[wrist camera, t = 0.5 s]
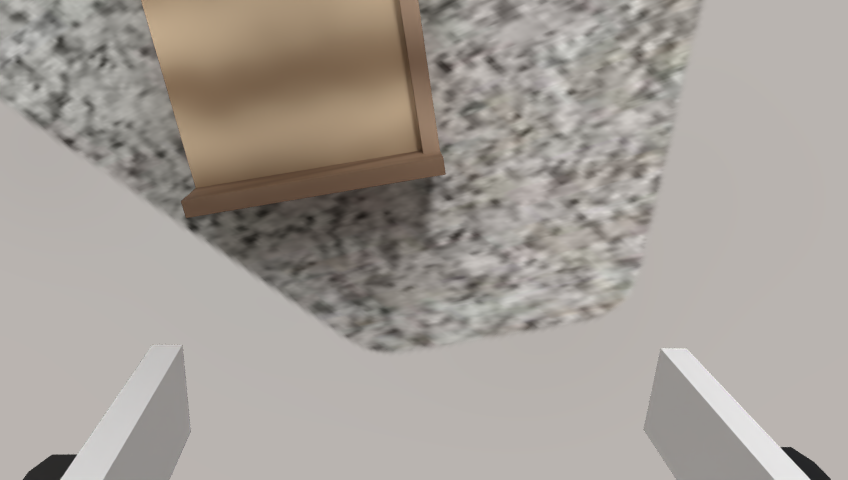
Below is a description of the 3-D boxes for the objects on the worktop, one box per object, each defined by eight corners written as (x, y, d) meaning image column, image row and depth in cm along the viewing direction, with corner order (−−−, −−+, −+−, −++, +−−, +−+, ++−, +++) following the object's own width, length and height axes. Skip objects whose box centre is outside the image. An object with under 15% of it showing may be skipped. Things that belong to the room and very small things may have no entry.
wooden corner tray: (148, -39, 35) (104, -51, 30) (401, -79, 36) (406, -99, 30) (212, 191, 40) (185, 218, 34) (435, 153, 40) (445, 174, 35)
